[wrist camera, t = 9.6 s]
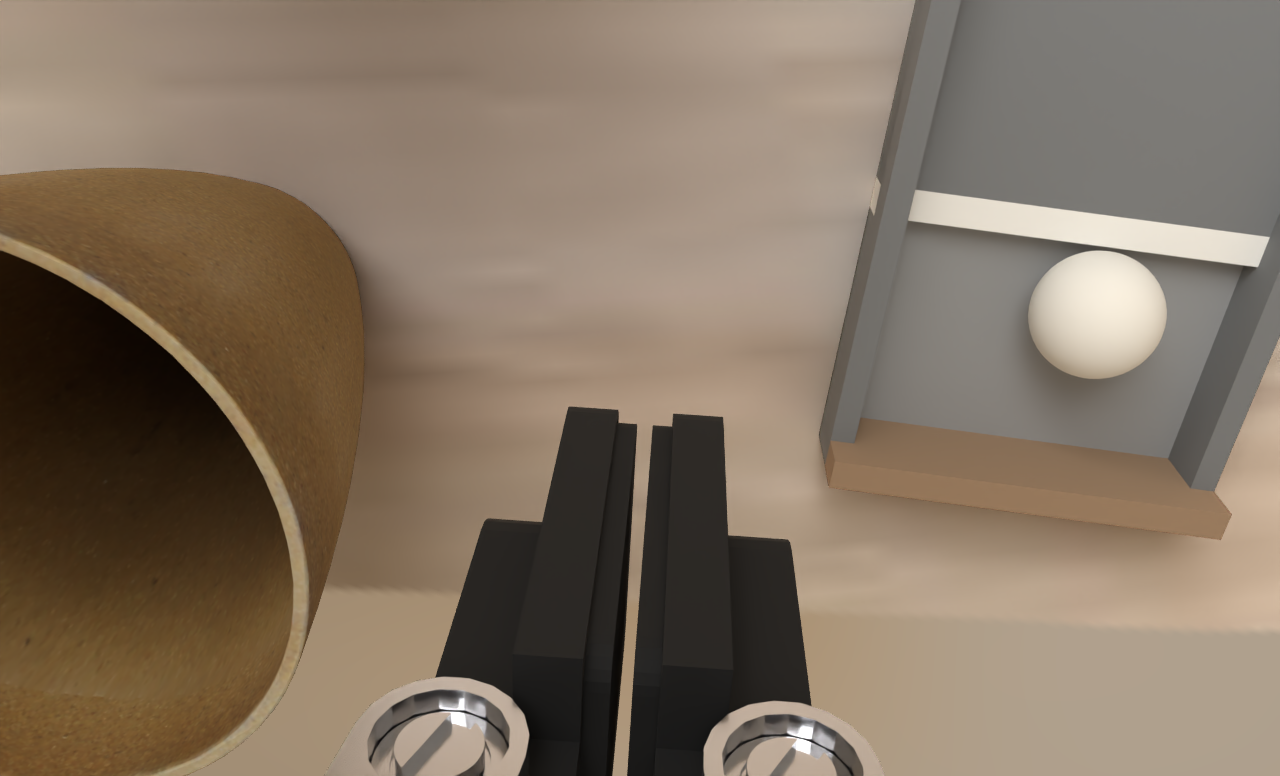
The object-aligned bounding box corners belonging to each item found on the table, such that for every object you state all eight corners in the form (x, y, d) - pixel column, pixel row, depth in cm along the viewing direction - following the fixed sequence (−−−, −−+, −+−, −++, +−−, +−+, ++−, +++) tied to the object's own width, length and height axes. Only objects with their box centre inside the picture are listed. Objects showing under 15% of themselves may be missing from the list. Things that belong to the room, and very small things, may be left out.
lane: (959, -195, 30) (989, -200, 27) (1426, -132, 30) (1512, -130, 27) (819, 434, 39) (829, 487, 36) (1178, 482, 39) (1220, 539, 36)
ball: (998, 337, 37) (1035, 224, 35) (1114, 356, 37) (1157, 245, 35) (1030, 388, 33) (1073, 265, 31) (1158, 410, 33) (1209, 289, 31)
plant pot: (413, 35, 34) (194, 175, 19) (494, 453, 40) (375, 789, 26) (-36, 83, 35) (-549, 246, 21) (113, 478, 42) (-200, 810, 27)
